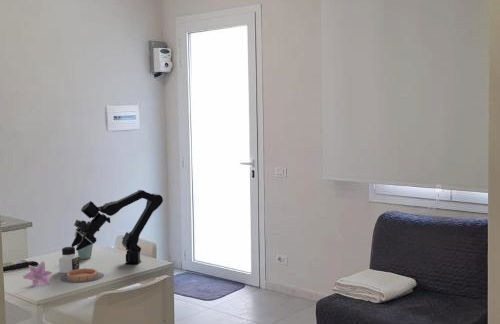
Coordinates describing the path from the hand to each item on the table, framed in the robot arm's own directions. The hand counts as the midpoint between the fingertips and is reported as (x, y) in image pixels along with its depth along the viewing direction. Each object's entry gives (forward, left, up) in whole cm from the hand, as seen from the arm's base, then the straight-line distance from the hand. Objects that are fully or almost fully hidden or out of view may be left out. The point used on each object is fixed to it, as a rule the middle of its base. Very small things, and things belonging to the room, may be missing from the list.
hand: (74, 248), depth 292 cm
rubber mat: (-9, +11, -11) cm, 18 cm away
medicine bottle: (+2, +2, -11) cm, 12 cm away
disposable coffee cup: (+7, -26, -12) cm, 30 cm away
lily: (+6, +25, -12) cm, 28 cm away
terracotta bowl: (-9, +11, -11) cm, 18 cm away
